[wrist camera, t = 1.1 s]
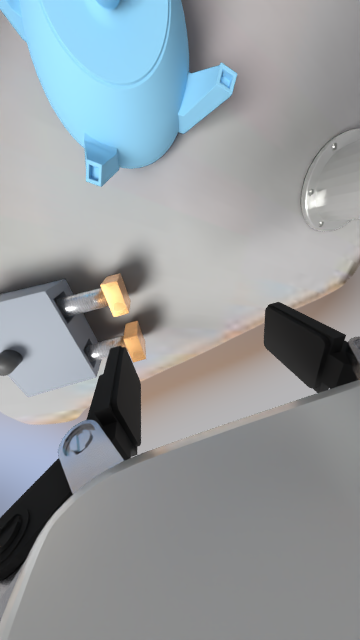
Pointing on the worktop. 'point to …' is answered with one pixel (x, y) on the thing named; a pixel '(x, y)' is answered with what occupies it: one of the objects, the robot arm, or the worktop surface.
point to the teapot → (118, 76)
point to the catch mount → (43, 340)
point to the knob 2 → (130, 340)
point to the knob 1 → (98, 299)
